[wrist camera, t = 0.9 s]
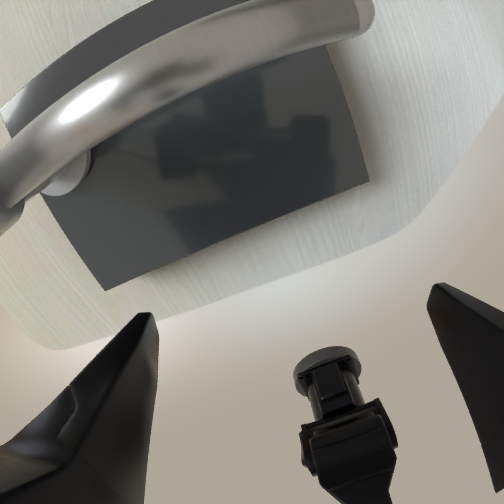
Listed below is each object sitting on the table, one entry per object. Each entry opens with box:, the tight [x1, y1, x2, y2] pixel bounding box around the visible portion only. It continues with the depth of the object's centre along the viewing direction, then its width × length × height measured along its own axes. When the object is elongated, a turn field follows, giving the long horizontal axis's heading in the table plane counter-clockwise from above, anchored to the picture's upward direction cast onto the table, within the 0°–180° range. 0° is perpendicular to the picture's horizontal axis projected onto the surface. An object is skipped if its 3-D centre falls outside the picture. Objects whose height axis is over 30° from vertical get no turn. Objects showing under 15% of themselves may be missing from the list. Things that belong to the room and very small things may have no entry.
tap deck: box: [0, 0, 369, 291], centre depth 14 cm, size 14×18×9 cm
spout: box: [0, 0, 375, 236], centre depth 8 cm, size 17×3×4 cm, turn 112°
